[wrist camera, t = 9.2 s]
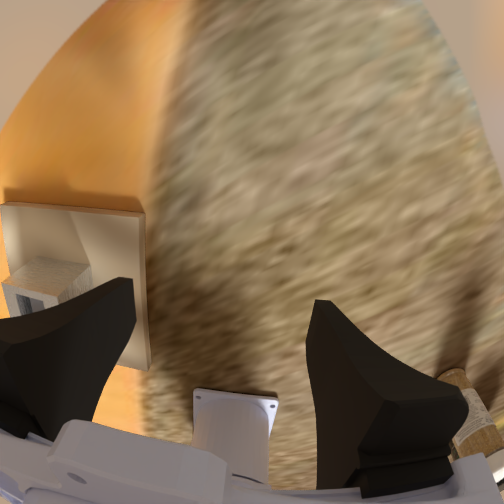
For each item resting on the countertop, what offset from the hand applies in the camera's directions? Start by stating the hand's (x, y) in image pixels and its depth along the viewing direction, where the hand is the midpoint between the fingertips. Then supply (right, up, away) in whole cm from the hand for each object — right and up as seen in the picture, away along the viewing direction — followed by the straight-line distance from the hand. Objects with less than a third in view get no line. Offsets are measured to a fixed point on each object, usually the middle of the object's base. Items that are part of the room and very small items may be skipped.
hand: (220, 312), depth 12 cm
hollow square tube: (-14, -1, +11) cm, 18 cm away
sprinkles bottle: (+22, -11, +15) cm, 29 cm away
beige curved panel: (-14, -1, +12) cm, 19 cm away
